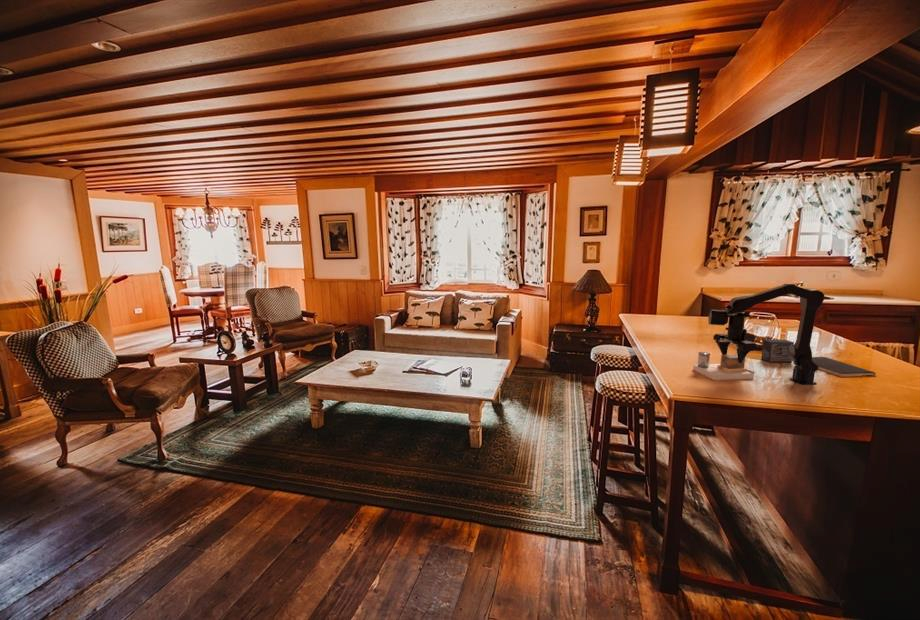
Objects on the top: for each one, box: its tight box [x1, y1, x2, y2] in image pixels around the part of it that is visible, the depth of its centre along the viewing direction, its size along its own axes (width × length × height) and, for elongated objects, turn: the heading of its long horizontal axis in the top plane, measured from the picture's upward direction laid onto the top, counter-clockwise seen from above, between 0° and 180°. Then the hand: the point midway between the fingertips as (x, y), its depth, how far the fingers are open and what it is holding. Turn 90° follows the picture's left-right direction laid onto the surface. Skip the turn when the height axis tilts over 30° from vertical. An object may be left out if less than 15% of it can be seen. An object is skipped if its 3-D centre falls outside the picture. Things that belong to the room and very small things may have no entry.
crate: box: [717, 353, 748, 372], centre depth 173 cm, size 6×9×6 cm, turn 94°
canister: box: [696, 351, 711, 368], centre depth 178 cm, size 5×5×6 cm
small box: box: [761, 339, 795, 364], centre depth 191 cm, size 11×6×10 cm, turn 84°
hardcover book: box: [812, 356, 876, 378], centre depth 180 cm, size 16×23×2 cm
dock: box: [692, 363, 755, 381], centre depth 175 cm, size 14×18×3 cm
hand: (732, 360), depth 173 cm, fingers open, 9 cm apart
